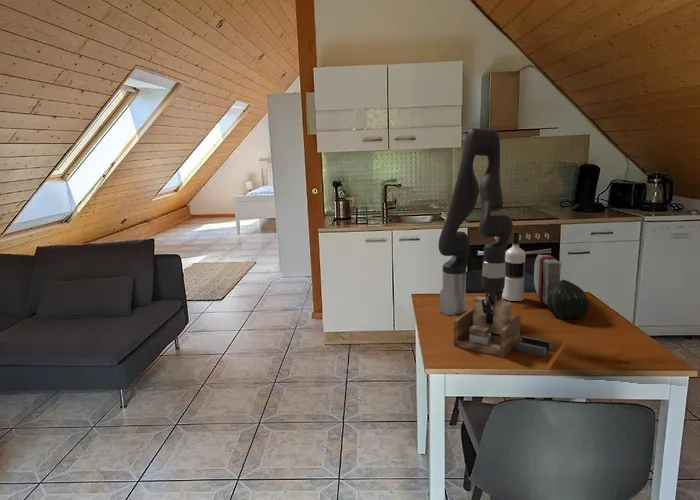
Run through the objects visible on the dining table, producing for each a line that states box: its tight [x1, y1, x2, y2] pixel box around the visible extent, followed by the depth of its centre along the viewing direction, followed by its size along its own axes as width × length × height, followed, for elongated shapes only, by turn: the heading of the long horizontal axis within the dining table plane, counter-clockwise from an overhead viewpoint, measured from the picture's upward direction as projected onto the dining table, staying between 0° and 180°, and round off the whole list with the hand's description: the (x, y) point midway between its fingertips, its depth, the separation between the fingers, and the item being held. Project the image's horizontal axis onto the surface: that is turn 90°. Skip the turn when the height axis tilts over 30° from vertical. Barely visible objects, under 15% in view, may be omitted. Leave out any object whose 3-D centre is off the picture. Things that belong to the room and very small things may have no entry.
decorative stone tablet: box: [533, 254, 562, 305], centre depth 211 cm, size 19×6×30 cm
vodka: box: [502, 231, 527, 302], centre depth 209 cm, size 9×9×30 cm
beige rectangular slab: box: [472, 295, 512, 334], centre depth 167 cm, size 12×3×11 cm, turn 53°
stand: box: [515, 335, 552, 358], centre depth 158 cm, size 9×8×4 cm
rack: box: [453, 306, 522, 358], centre depth 164 cm, size 17×16×10 cm
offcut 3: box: [469, 341, 490, 347], centre depth 162 cm, size 6×4×2 cm, turn 54°
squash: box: [546, 279, 590, 319], centre depth 189 cm, size 14×15×15 cm
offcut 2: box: [469, 334, 491, 344], centre depth 161 cm, size 6×4×2 cm, turn 58°
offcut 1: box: [470, 325, 489, 338], centre depth 161 cm, size 5×4×2 cm
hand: (491, 321), depth 167 cm, fingers closed on beige rectangular slab, 3 cm apart
